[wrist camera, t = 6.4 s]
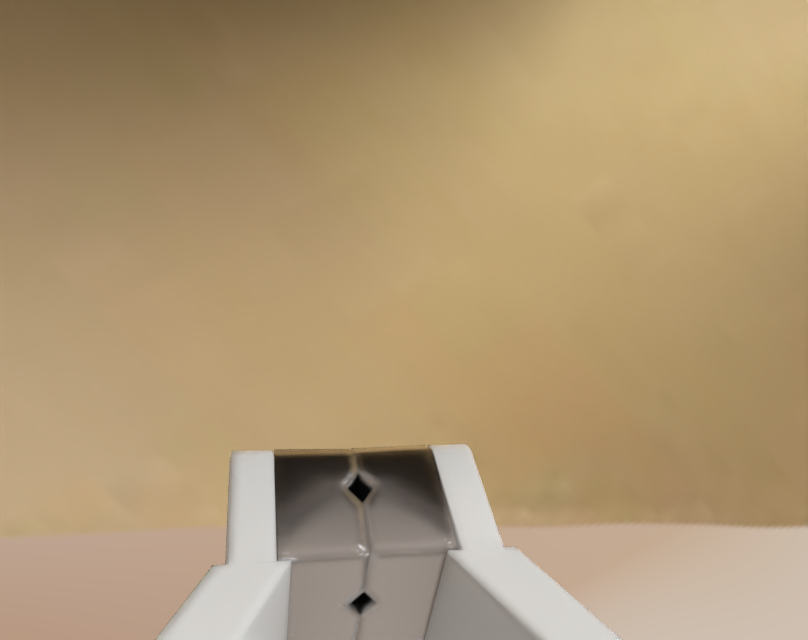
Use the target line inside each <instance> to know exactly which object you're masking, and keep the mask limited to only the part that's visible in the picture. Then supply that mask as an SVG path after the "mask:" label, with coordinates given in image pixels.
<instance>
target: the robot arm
mask: <svg viewBox="0 0 808 640" xmlns="http://www.w3.org/2000/svg"><path fill="white" fill-rule="evenodd" d="M155 640H622V639H621V638H620V637H618V636H617V635H616V634H615V633H614V632H613V631H612V630H610V629H609V628H608V627H607V626H606V625H605V624H604V623H602V622H601V621H600V620H599V619H598V618H597V617H596V616H594V615H593V614H592V613H591V612H590V611H589V610H588V609H586V608H585V607H584V606H583V605H582V604H581V603H580V602H578V601H577V600H576V599H575V598H574V597H573V596H572V595H570V594H569V593H568V592H567V591H566V590H565V589H564V588H562V587H561V586H560V585H559V584H558V583H556V582H555V581H554V580H553V579H552V578H551V577H550V576H549V575H547V574H546V573H545V572H544V571H543V570H542V569H541V568H539V567H538V566H537V565H536V564H535V563H534V562H533V561H531V560H530V559H529V558H528V557H527V556H526V555H525V554H523V553H522V552H521V551H520V550H519V549H517V548H516V547H504V545H503V542H502V539H501V537H500V533H499V530H498V528H497V525H496V522H495V519H494V516H493V513H492V510H491V507H490V504H489V501H488V498H487V495H486V492H485V489H484V486H483V484H482V481H481V478H480V475H479V472H478V469H477V466H476V463H475V460H474V457H473V454H472V451H471V449H470V448H469V447H468V446H467V445H466V444H449V445H429V446H425V445H421V446H397V447H372V448H351V449H276V450H274V454H273V450H236V451H232V453H231V457H230V466H229V489H228V512H227V537H226V560H225V564H224V565H213V566H211V568H210V569H209V570H208V572H207V573H206V574H205V576H204V577H203V578H202V579H201V581H200V582H199V583H198V584H197V586H196V587H195V588H194V590H193V591H192V592H191V594H190V595H189V596H188V598H187V599H186V600H185V602H184V603H183V604H182V605H181V606H180V608H179V609H178V611H177V612H176V613H175V614H174V616H173V617H172V618H171V619H170V621H169V622H168V623H167V625H166V626H165V627H164V628H163V630H162V631H161V632H160V634H159V635H158V637H157V638H156V639H155Z"/></svg>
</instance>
